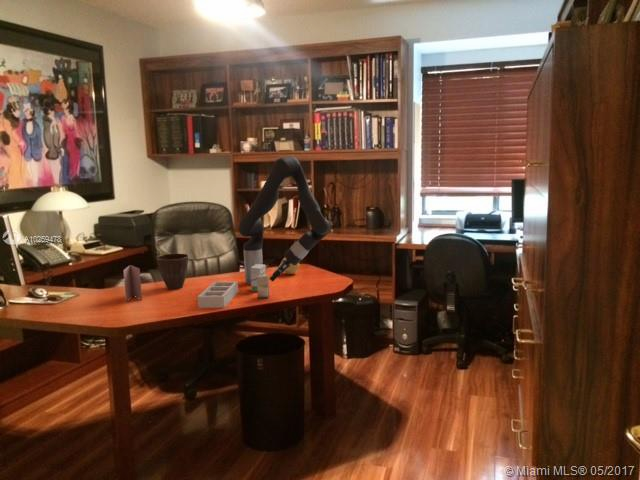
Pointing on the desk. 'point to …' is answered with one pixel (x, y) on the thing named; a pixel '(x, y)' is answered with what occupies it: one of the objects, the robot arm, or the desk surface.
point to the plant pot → (173, 270)
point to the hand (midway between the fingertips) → (272, 277)
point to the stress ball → (291, 268)
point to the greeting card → (132, 282)
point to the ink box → (256, 275)
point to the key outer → (214, 295)
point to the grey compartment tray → (217, 300)
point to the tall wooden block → (263, 286)
